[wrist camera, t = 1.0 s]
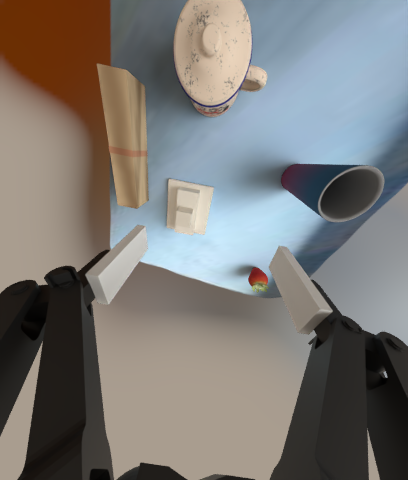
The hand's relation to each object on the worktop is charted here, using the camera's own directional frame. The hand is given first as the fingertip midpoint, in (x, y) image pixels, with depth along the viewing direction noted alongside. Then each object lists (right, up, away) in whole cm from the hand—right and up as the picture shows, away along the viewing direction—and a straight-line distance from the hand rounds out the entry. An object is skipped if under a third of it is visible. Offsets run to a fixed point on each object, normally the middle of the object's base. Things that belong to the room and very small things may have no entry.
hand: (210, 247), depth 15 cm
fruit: (+15, -8, +30) cm, 34 cm away
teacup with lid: (+2, +26, +10) cm, 28 cm away
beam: (-14, +19, +15) cm, 29 cm away
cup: (+18, +14, +16) cm, 28 cm away
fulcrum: (-4, +9, +21) cm, 23 cm away
